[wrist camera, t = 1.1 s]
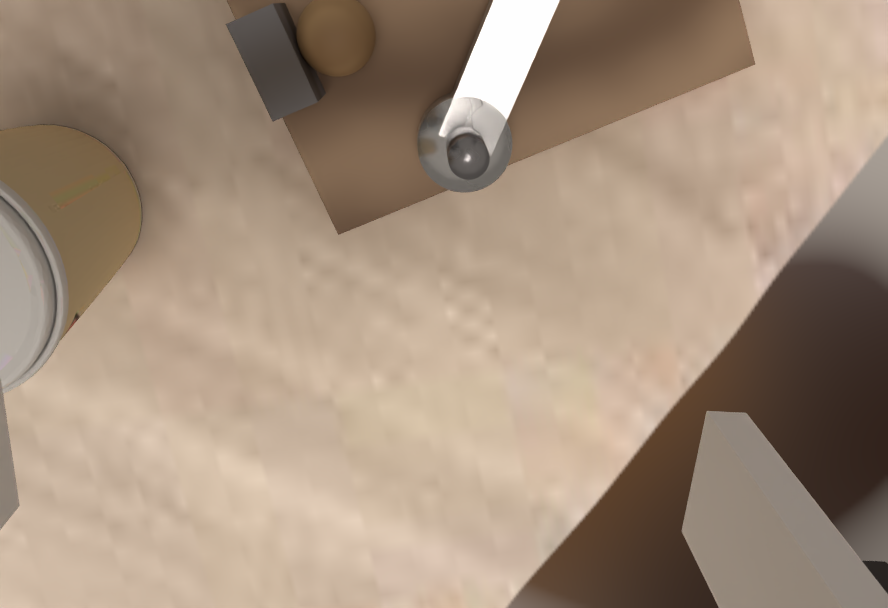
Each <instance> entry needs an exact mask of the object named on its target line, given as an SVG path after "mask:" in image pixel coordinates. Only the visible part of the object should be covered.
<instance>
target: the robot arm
mask: <svg viewBox="0 0 888 608" xmlns="http://www.w3.org/2000/svg"><path fill="white" fill-rule="evenodd" d="M18 507H19V499H18V492H17V485H16V478H15V472H14V465H13V458H12V451H11V445H10V438H9V431H8V424H7V417H6V411H5V404H4V397H3V390H2V384H1V378H0V530H1V528H2V527H3V526H4V524H5V523H6V522H7V521H8V519H9V518H10V517H11V516H12V514H13V513H14V512H15V511H16V509H17V508H18ZM682 533H683V535H684V537H685V539H686V541H687V543H688V545H689V547H690V549H691V551H692V553H693V555H694V557H695V559H696V561H697V563H698V565H699V568H700V570H701V571H702V574H703V576H704V578H705V580H706V582H707V584H708V586H709V588H710V590H711V592H712V594H713V596H714V598H715V600H716V602H717V604H718V606H719V608H888V564H887V563H886V562H878V561H861V559H860V558H859V557H858V556H857V554H856V553H855V552H854V550H853V549H852V548H851V547H850V545H849V544H848V543H847V541H846V540H845V539H844V538H843V536H842V535H841V534H840V533H839V532H838V530H837V529H836V527H835V526H834V525H833V523H832V522H831V521H830V520H829V518H828V517H827V516H826V515H825V513H824V512H823V511H822V510H821V508H820V507H819V506H818V504H817V503H816V502H815V500H814V499H813V498H812V497H811V496H810V494H809V493H808V491H807V490H806V489H805V488H804V486H803V485H802V484H801V483H800V481H799V480H798V479H797V477H796V476H795V475H794V474H793V472H792V471H791V470H790V468H789V467H788V466H787V465H786V463H785V462H784V461H783V459H782V458H781V457H780V456H779V454H778V453H777V452H776V451H775V449H774V448H773V447H772V445H771V444H770V443H769V442H768V440H767V439H766V438H765V436H764V435H763V434H762V433H761V431H760V430H759V429H758V427H757V426H756V425H755V424H754V422H753V421H752V420H751V419H750V417H749V416H748V415H747V413H736V412H735V413H734V412H715V411H707V413H706V417H705V422H704V427H703V432H702V436H701V441H700V446H699V451H698V456H697V461H696V465H695V470H694V475H693V479H692V485H691V489H690V494H689V499H688V503H687V508H686V513H685V518H684V523H683V527H682Z"/></svg>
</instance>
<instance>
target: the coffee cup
mask: <svg viewBox="0 0 888 608" xmlns="http://www.w3.org/2000/svg"><path fill="white" fill-rule="evenodd" d="M141 222H142V208H141V200H140V197H139V193H138V189H137V187H136V184H135V182H134V180H133V178H132V176H131V174H130V173H129V171H128V169H127V168H126V166H125V165H124V164H123V162H122V161H121V160H120V159H119V158H118V157H117V155H116V154H115V153H114V152H113V151H111V150H110V149H109V148H108V147H107V146H106V145H104V144H103V143H101V142H100V141H98V140H97V139H95V138H93V137H91V136H89V135H87V134H85V133H83V132H81V131H78V130H76V129H72V128H68V127H64V126H58V125H34V126H25V127H17V128H12V129H6V130H0V378H1V384H2V390H3V393H5V392H8V391H10V390H12V389H14V388H15V387H17V386H19V385H21V384H22V383H24V382H25V381H26V380H28V379H29V378H30V377H32V376H33V375H34V374H35V373H36V372H37V371H38V370H39V369H40V368H41V367H42V366H43V365H44V364H45V363H46V361H47V360H48V359H49V357H50V356H51V355H52V353H53V352H54V350H55V348H56V347H57V345H58V343H59V341H60V340H61V339H62V338H63V337H64V335H65V334H66V333H67V332H68V331H69V329H70V328H71V327H72V326H73V325H74V323H75V322H76V321H77V320H78V319H79V317H80V316H81V315H82V314H83V313H84V311H85V310H86V309H87V308H88V307H89V305H90V304H91V303H92V302H93V301H94V299H95V298H96V297H97V296H98V294H99V293H100V292H101V291H102V290H103V288H104V287H105V286H106V285H107V283H108V282H109V281H110V280H111V278H112V277H113V276H114V275H115V273H116V272H117V271H118V270H119V269H120V267H121V266H122V265H123V263H124V262H125V260H126V259H127V257H128V256H129V255H130V253H131V252H132V250H133V248H134V246H135V244H136V242H137V240H138V237H139V233H140V229H141Z"/></svg>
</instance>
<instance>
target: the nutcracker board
mask: <svg viewBox="0 0 888 608" xmlns="http://www.w3.org/2000/svg"><path fill="white" fill-rule="evenodd" d="M227 2H228V4H229V6H230V8H231V10H232V13H233V15H234V17H235V19H236V20H235V21H232V22H230V23H228V24H226V25H227V27H228V30H229V32H230V34H231V36H232V38H233V40H234V42H235V44H236V46H237V48H238V50H239V52H240V54H241V56H242V59H243V61H244V63H245V65H246V67H247V69H248V71H249V73H250V75H251V77H252V79H253V81H254V83H255V86H256V88H257V90H258V92H259V94H260V96H261V98H262V100H263V102H264V104H265V106H266V108H267V110H268V112H269V115H270V117H271V119H272V121H275V120H277V119H280V118H282V117H283V119H284V122H285V124H286V126H287V128H288V130H289V132H290V134H291V136H292V138H293V140H294V142H295V145H296V147H297V149H298V151H299V153H300V155H301V157H302V159H303V161H304V163H305V166H306V168H307V170H308V172H309V174H310V176H311V178H312V180H313V182H314V184H315V187H316V189H317V191H318V193H319V195H320V197H321V199H322V201H323V203H324V205H325V207H326V210H327V212H328V214H329V216H330V218H331V220H332V222H333V224H334V226H335V228H336V231H337V233H338V235H339V234H341V233H344V232H346V231H349V230H351V229H354V228H356V227H359V226H361V225H363V224H366V223H368V222H371V221H373V220H376V219H378V218H381V217H383V216H385V215H388V214H390V213H393V212H395V211H398V210H400V209H403V208H405V207H407V206H410V205H412V204H415V203H417V202H420V201H422V200H425V199H427V198H429V197H432V196H434V195H437V194H439V193H442V192H444V191H447V190H448V189H445V188H443V187H441V186H440V185H438V184H437V183H435V182H434V181H433V180H432V179H431V178H430V177H429V176H428V175H427V173H426V172H425V170H424V169H423V167H422V165H421V163H420V160H419V156H418V150H417V135H418V127H419V124H420V121H421V118H422V116H423V114H424V113H425V111H426V110H427V108H428V107H429V106H430V105H431V104H432V103H433V102H434V101H436V100H437V99H439V98H440V97H442V96H444V95H446V94H449V93H452V91H453V88H454V86H455V83H456V81H457V78H458V76H459V74H460V71H461V69H462V66H463V64H464V61H465V59H466V56H467V54H468V52H469V49H470V47H471V44H472V42H473V39H474V37H475V35H476V32H477V30H478V27H479V25H480V22H481V20H482V17H483V15H484V13H485V10H486V8H487V5H488V3H489V0H227ZM752 65H755V61H754V57H753V53H752V49H751V45H750V41H749V38H748V34H747V30H746V26H745V22H744V18H743V14H742V10H741V6H740V2H739V0H559V3H558V5H557V7H556V9H555V12H554V14H553V16H552V19H551V21H550V23H549V25H548V28H547V30H546V32H545V34H544V37H543V39H542V41H541V44H540V46H539V48H538V50H537V53H536V55H535V57H534V60H533V62H532V64H531V66H530V69H529V71H528V73H527V76H526V78H525V80H524V82H523V85H522V87H521V89H520V91H519V94H518V96H517V98H516V101H515V103H514V105H513V107H512V110H511V112H510V114H509V117H508V119H507V123H508V125H509V127H510V131H511V135H512V153H511V157H510V160H509V163H508V165H510V164H513V163H515V162H517V161H520V160H522V159H525V158H527V157H530V156H532V155H535V154H537V153H539V152H542V151H544V150H547V149H549V148H552V147H554V146H557V145H559V144H561V143H564V142H566V141H569V140H571V139H574V138H576V137H579V136H581V135H583V134H586V133H588V132H591V131H593V130H596V129H598V128H601V127H603V126H605V125H608V124H610V123H613V122H615V121H618V120H620V119H623V118H625V117H627V116H630V115H632V114H635V113H637V112H640V111H642V110H645V109H647V108H649V107H652V106H654V105H657V104H659V103H662V102H664V101H667V100H669V99H671V98H674V97H676V96H679V95H681V94H684V93H686V92H689V91H691V90H693V89H696V88H698V87H701V86H703V85H706V84H708V83H711V82H713V81H715V80H718V79H720V78H723V77H725V76H728V75H730V74H733V73H735V72H737V71H740V70H742V69H745V68H747V67H750V66H752ZM508 165H507V166H508Z"/></svg>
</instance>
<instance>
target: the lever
mask: <svg viewBox="0 0 888 608" xmlns="http://www.w3.org/2000/svg"><path fill="white" fill-rule="evenodd" d="M558 3H559V0H489V3H488V5H487V8H486V10H485V13H484V15H483V17H482V20H481V22H480V25H479V27H478V30H477V32H476V35H475V37H474V39H473V42H472V44H471V47H470V49H469V52H468V54H467V56H466V59H465V61H464V64H463V66H462V69H461V71H460V74H459V76H458V78H457V81H456V83H455V86H454V88H453V91H452V93H449V94H446V95H444V96H442V97H440V98H439V99H437V100H436V101H434V102H433V103H432V104H431V105H430V106H429V107H428V108H427V110H426V111H425V113H424V114H423V116H422V118H421V121H420V124H419V127H418V135H417V150H418V156H419V160H420V163H421V165H422V167H423V169H424V170H425V172H426V173H427V175H428V176H429V177H430V178H431V179H432V180H433V181H434V182H435V183H437V184H438V185H440V186H441V187H443V188H445V189H448V190H451V191H455V192H473V191H477V190H480V189H483V188H485V187H487V186H489V185H490V184H492V183H493V182H494V181H496V180H497V179H498V178H499V177H500V176H501V174H502V173H503V172H504V170H505V169H506V167H507V165H508V163H509V160H510V157H511V153H512V135H511V131H510V127H509V125H508V123H507V119H508V117H509V114H510V112H511V110H512V107H513V105H514V103H515V101H516V98H517V96H518V94H519V91H520V89H521V87H522V85H523V82H524V80H525V78H526V76H527V73H528V71H529V69H530V66H531V64H532V62H533V60H534V57H535V55H536V53H537V50H538V48H539V46H540V44H541V41H542V39H543V37H544V34H545V32H546V30H547V28H548V25H549V23H550V21H551V19H552V16H553V14H554V12H555V9H556V7H557V5H558Z"/></svg>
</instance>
